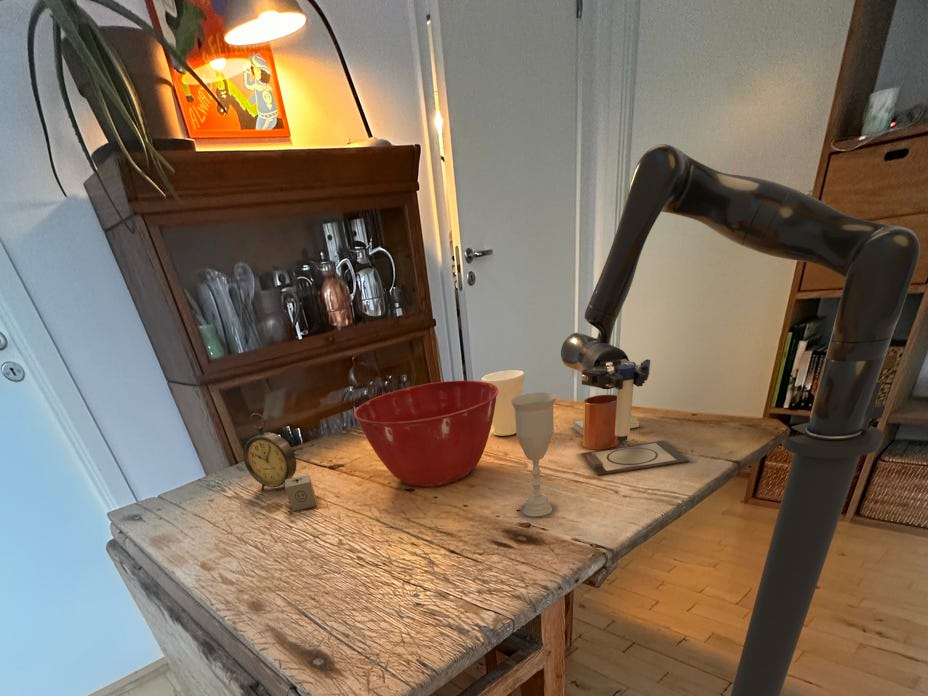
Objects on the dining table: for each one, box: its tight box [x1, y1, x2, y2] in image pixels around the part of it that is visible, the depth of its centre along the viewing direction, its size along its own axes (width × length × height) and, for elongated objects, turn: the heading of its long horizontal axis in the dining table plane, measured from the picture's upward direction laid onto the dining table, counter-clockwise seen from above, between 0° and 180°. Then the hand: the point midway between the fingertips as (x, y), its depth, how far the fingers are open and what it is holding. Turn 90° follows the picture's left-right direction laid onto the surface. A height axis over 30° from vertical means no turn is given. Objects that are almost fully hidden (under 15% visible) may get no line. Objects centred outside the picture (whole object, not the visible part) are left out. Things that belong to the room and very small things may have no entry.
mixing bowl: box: [353, 380, 498, 488], centre depth 105 cm, size 28×28×16 cm
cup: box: [481, 369, 525, 436], centre depth 123 cm, size 10×10×13 cm
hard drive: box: [573, 415, 640, 436], centre depth 119 cm, size 2×8×12 cm
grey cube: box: [284, 474, 318, 512], centre depth 106 cm, size 5×5×5 cm
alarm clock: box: [242, 412, 297, 491], centre depth 113 cm, size 11×5×16 cm, turn 74°
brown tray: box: [580, 440, 690, 477], centre depth 102 cm, size 17×13×1 cm
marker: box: [615, 365, 635, 442], centre depth 98 cm, size 3×3×13 cm
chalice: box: [511, 392, 557, 517], centre depth 84 cm, size 7×7×18 cm
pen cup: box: [582, 394, 620, 450], centre depth 109 cm, size 7×7×9 cm
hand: (631, 381), depth 93 cm, fingers closed on marker, 3 cm apart
